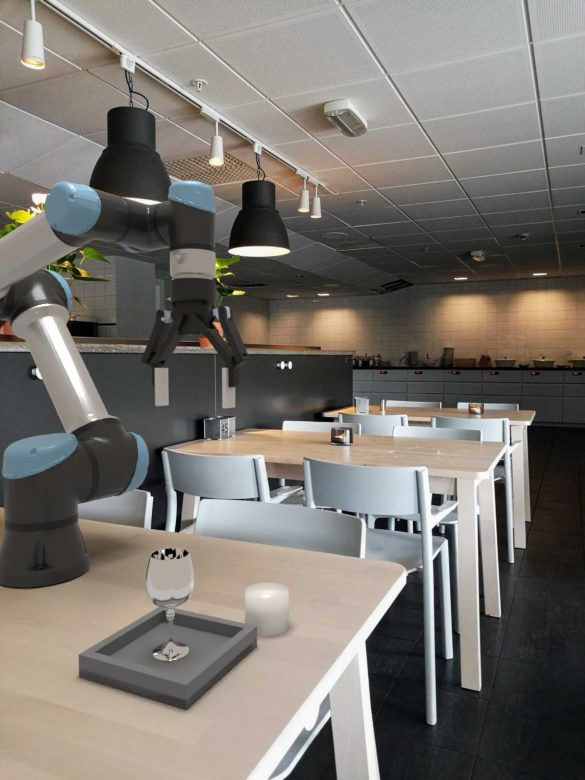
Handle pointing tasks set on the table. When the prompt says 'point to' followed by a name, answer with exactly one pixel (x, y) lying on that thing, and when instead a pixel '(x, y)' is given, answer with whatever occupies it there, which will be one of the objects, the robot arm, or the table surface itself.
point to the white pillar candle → (267, 608)
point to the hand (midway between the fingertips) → (194, 406)
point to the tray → (169, 678)
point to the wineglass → (170, 592)
